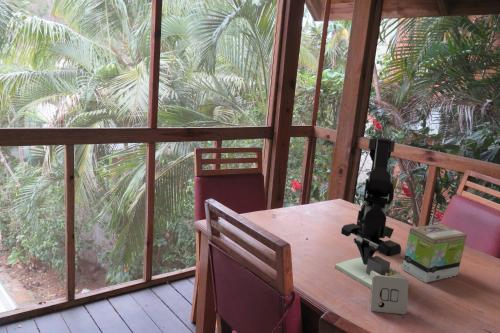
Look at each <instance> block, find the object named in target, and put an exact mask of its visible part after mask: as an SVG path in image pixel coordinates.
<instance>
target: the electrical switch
mask: <svg viewBox="0 0 500 333" xmlns="http://www.w3.org/2000/svg"><path fill="white" fill-rule="evenodd" d="M409 282H410V281H409V279H408V278H407V277H403V278H402V277H393V276H383V275H373V276H372V288H371V289H370V290H371V291H370V301H369V309H370V310H371V311H372V312H379V313H388V314H397V315H406V314H407V310H408V297H409Z"/></svg>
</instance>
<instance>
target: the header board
mask: <svg viewBox="0 0 500 333" xmlns="http://www.w3.org/2000/svg"><path fill="white" fill-rule="evenodd" d="M334 268H335V269H336V270H337V271H340V272H342V273H343V274H345V275H346V276H348V277H350V278H351V279H353V280H355V281H356V282H358V283H360V284H361V285H363V286H365V287H367V288H369V289H370V290H371V288H372V276H373V275H380V274H378V273H376V272H375V271H371V272H370V275H368V274H367V273H366V269H367V265H364V264H363V261H362V258H361V256H359V257H356V258H353V259H348V260H346V261H345V260H344V261H341V262H338V263H335V264H334ZM385 276H393V277H402V278H404V277H403V276H404V274H403V273H402V272H400V271H398V270H397V269H395V268H393V267H390V268H389V273H386V274H385Z"/></svg>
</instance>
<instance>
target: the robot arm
mask: <svg viewBox="0 0 500 333" xmlns="http://www.w3.org/2000/svg"><path fill="white" fill-rule="evenodd" d="M395 145H396V141H395V140H394V141H393V140H392V138H388V137H379V136H373V137H372V138H369V140H368V145H367V146H368V147H367V150H369V157H370V159H371V161H372V162H371V163H372V164H371V169H370V170H371V171H370V172H369V173H368V174H369V175H368V178H366V179H365V185H364V190H363V191H364V192H363V200H362V201H364V202H363V203H362V204H361V207H360V210H358V211H357V213H358V214H357V220H356V223H354V222H352V223H349V224H344V225H343V226H341V230H340V232H341V233H340V234H341V235H344V236H345V237H350V236H351V235H355V238H353V241H354V244H355V245H356V247H357V249H358V252H359V255H360V257H361V258H362V261H363V264H364V265H367V263H368V258H370V257H374V256H375V254H376V253H377V251H378V252H379V254H381V255H383V256H385V257H393V256H396V255H400V254H401V251H402V246H401V245H400V243H397V242H395V241H393V240H392V239H391V237H392V236H393V233H394V228H392V227H389V226H387V225H386V222H387V215H386V214H387V213H386V212H387V211H386V206H390V205H391V204H392V202H393V201H394V197H395V196H394V193H395V186H394V183H393V182H392V181H391V180H392V175H391V173H390V172H389V171H388V165H389V162H388V161H389V159H390V158H391V156H392V155H391V154H392V153H394V151H395ZM385 238H388V239H389V240H383V239H385Z"/></svg>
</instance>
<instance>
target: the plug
mask: <svg viewBox="0 0 500 333" xmlns="http://www.w3.org/2000/svg"><path fill="white" fill-rule="evenodd" d="M390 266H391V262H390V261H388V260H386V259H384V258H382V257H381V256H378V255H373V256H372V257H370V258H368V263H367V269H366V273H367V274H368V275H370V272H371V271H375V272H376V273H378V274H380V275H383V276H385V274H386V273H389V268H390Z"/></svg>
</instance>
